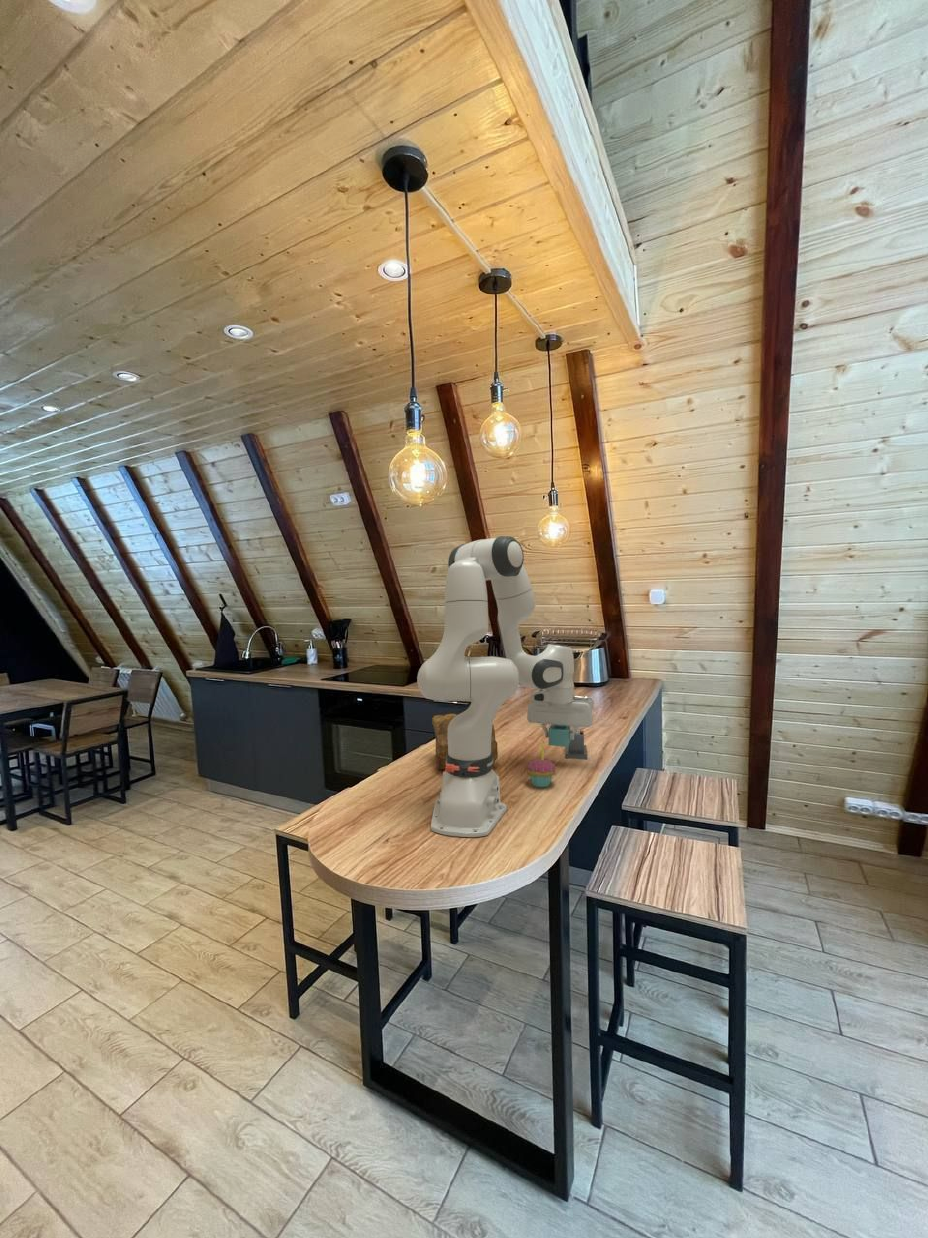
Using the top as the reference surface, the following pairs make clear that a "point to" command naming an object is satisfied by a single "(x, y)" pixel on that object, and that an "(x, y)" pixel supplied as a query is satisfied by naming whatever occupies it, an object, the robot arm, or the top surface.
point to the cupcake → (541, 771)
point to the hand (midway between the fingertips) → (559, 738)
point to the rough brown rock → (442, 739)
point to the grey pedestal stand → (576, 746)
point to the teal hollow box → (559, 735)
